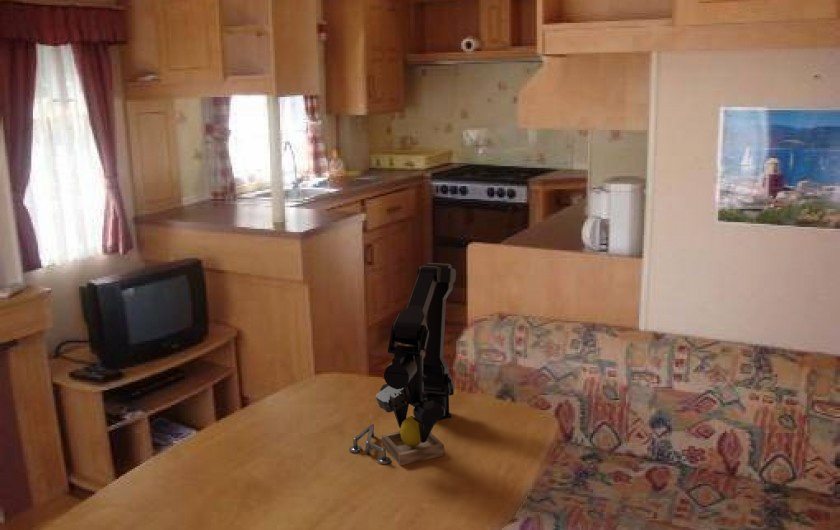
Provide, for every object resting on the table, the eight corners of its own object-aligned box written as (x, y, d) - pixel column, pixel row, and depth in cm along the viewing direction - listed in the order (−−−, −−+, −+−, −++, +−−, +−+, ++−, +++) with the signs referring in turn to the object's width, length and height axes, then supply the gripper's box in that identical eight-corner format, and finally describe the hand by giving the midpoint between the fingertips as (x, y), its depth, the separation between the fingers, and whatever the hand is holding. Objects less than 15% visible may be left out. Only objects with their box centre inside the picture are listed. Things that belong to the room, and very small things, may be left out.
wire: (373, 434, 192) (372, 423, 191) (396, 461, 178) (396, 449, 178) (342, 441, 189) (341, 430, 188) (363, 469, 175) (363, 457, 175)
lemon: (402, 441, 187) (401, 410, 184) (425, 441, 186) (424, 411, 184) (399, 453, 181) (398, 421, 179) (423, 453, 181) (422, 422, 178)
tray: (424, 435, 191) (424, 425, 190) (444, 455, 181) (443, 444, 180) (382, 445, 186) (381, 435, 186) (400, 465, 177) (399, 455, 176)
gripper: (359, 367, 182) (362, 429, 186) (403, 393, 167) (405, 460, 171) (400, 357, 188) (401, 417, 192) (445, 381, 173) (446, 446, 177)
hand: (412, 434), depth 183 cm, fingers open, 9 cm apart
